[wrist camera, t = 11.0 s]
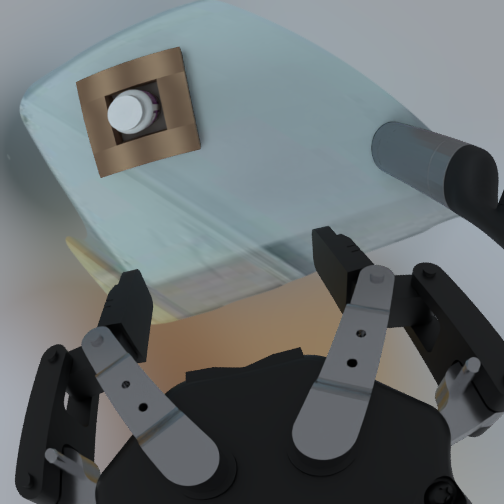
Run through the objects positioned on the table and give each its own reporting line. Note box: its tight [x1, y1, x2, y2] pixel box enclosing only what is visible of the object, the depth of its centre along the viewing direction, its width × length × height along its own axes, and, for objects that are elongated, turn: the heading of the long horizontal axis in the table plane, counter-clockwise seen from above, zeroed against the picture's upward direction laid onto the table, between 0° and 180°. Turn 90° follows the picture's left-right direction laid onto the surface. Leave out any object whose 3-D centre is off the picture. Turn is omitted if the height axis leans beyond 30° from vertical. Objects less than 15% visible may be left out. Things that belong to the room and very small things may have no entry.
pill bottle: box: [108, 90, 160, 134], centre depth 29 cm, size 5×5×10 cm
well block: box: [76, 47, 201, 178], centre depth 32 cm, size 14×14×4 cm
